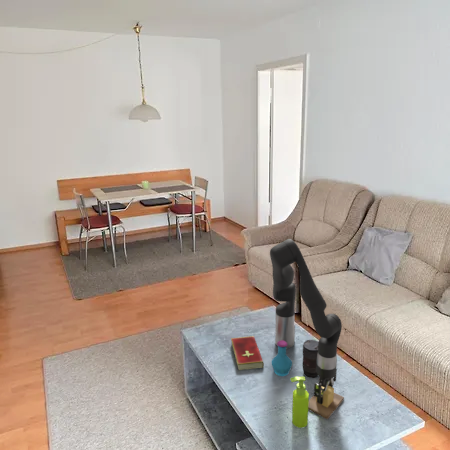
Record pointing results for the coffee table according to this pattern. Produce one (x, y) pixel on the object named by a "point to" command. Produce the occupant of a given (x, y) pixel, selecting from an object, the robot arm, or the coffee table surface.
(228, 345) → the coffee table surface
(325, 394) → the tan wooden block
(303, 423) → the soap dispenser
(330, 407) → the post board
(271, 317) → the coffee table surface
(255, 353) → the hardcover book
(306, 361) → the camera lens
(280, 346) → the perfume bottle
